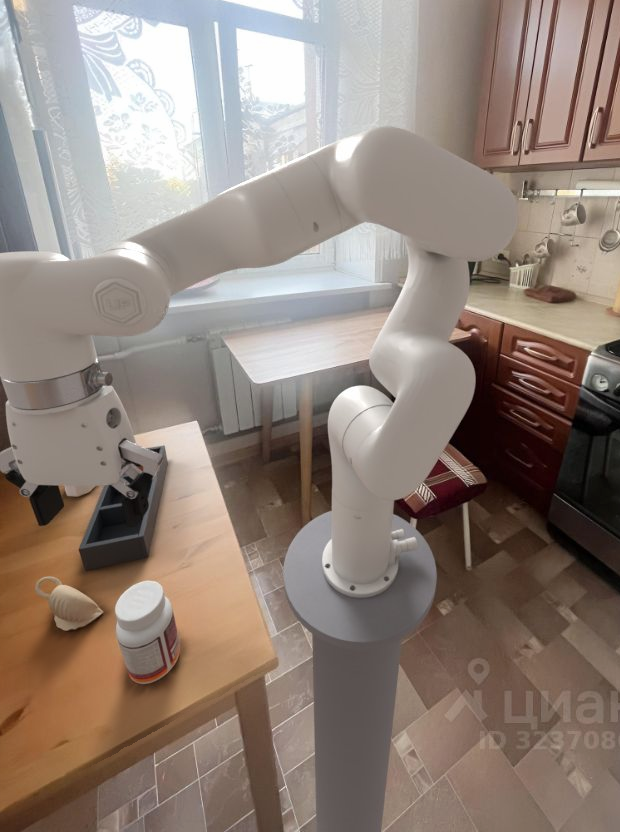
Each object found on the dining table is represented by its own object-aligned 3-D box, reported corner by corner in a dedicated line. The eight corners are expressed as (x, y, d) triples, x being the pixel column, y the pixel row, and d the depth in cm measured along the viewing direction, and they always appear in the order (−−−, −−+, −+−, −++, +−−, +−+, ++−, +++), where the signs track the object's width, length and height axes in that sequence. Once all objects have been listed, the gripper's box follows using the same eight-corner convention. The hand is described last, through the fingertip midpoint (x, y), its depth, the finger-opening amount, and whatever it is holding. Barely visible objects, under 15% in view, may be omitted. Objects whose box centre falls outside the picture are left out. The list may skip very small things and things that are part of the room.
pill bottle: (163, 625, 55) (149, 567, 51) (190, 652, 52) (178, 592, 48) (118, 666, 50) (99, 605, 46) (145, 698, 47) (127, 636, 43)
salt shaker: (86, 476, 83) (73, 431, 79) (103, 483, 81) (91, 438, 77) (58, 492, 78) (44, 445, 74) (75, 500, 76) (61, 453, 72)
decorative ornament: (75, 640, 53) (65, 613, 51) (39, 612, 56) (28, 586, 54) (104, 613, 56) (96, 587, 54) (69, 588, 60) (60, 563, 58)
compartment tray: (167, 462, 88) (164, 445, 86) (148, 557, 65) (143, 536, 63) (121, 469, 85) (117, 452, 83) (84, 570, 62) (78, 549, 61)
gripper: (163, 368, 42) (185, 495, 48) (-1, 365, 42) (43, 492, 48) (124, 403, 35) (156, 545, 41) (-73, 399, 35) (-10, 543, 41)
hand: (95, 517), depth 45 cm, fingers open, 9 cm apart
